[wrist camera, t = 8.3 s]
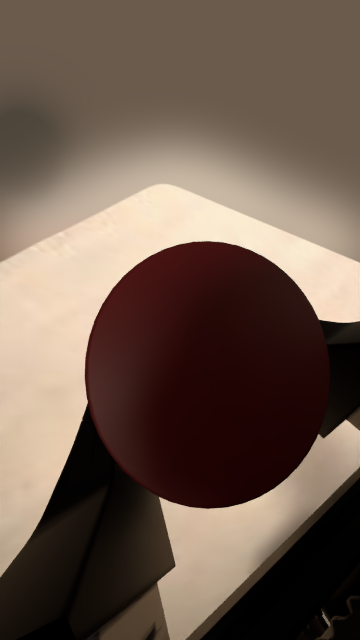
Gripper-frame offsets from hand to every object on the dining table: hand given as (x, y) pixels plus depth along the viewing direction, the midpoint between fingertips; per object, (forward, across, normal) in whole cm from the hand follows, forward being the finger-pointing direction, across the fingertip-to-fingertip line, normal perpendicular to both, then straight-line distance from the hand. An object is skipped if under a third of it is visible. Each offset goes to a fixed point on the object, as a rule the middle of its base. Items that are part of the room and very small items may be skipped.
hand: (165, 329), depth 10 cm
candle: (+4, 0, +6) cm, 7 cm away
